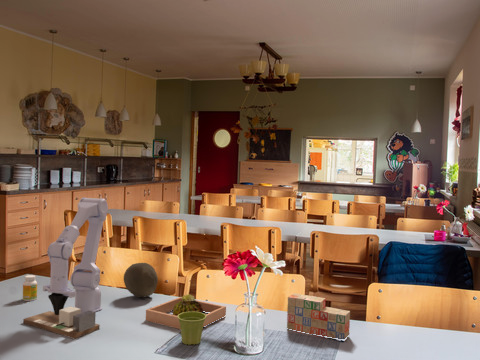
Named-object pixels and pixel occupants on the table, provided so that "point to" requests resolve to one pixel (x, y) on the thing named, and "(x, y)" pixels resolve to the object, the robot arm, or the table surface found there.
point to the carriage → (67, 315)
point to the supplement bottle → (30, 288)
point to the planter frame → (160, 316)
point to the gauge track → (49, 320)
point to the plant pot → (191, 326)
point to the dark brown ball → (141, 279)
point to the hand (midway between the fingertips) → (58, 314)
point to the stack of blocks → (316, 317)
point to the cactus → (187, 305)
